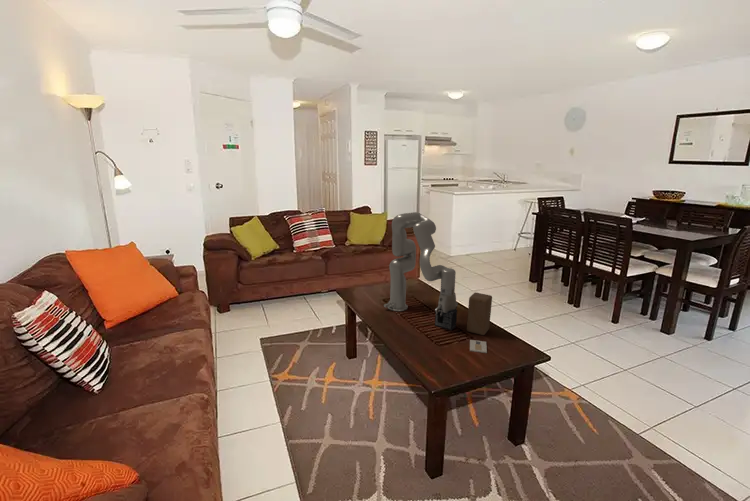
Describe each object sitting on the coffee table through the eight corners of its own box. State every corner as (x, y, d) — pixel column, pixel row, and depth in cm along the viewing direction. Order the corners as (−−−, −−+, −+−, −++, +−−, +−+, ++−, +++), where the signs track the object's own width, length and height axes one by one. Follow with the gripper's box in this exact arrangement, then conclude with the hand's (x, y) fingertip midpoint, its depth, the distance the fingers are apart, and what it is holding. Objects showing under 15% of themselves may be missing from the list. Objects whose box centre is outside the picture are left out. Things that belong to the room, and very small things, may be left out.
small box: (456, 327, 214) (458, 309, 211) (451, 331, 209) (452, 313, 206) (439, 321, 220) (440, 304, 218) (434, 325, 215) (435, 308, 213)
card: (469, 351, 188) (469, 349, 188) (469, 340, 198) (470, 339, 198) (486, 353, 186) (486, 351, 186) (486, 342, 196) (486, 341, 196)
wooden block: (484, 336, 204) (487, 300, 199) (465, 331, 209) (468, 296, 204) (489, 329, 212) (492, 295, 207) (471, 325, 217) (474, 291, 212)
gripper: (441, 296, 201) (440, 326, 205) (463, 289, 212) (461, 318, 216) (431, 292, 207) (430, 321, 211) (453, 286, 217) (451, 314, 221)
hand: (446, 320), depth 213 cm, fingers open, 9 cm apart
